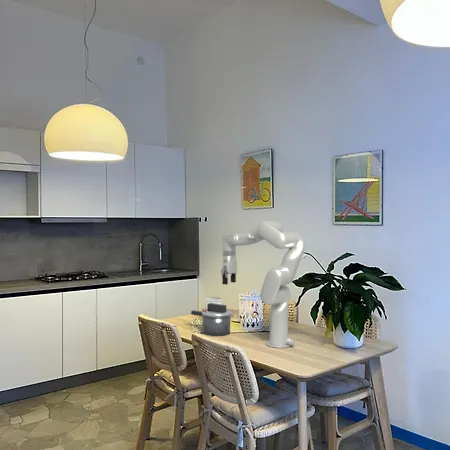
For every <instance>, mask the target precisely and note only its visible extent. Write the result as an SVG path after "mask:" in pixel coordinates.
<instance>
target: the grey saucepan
mask: <svg viewBox="0 0 450 450" xmlns="http://www.w3.org/2000/svg"><path fill="white" fill-rule="evenodd" d="M190 311H191V312H190V314H191V315H193V316H199V317H202V324H201V325H202V329H201V331H202V334H203V335H205V336H208V337H209V336H210V337H225V336H228V335H230V334H231V316H232V314H231V315H229V316H224V317H211V316H205V315H203V314H202V310H201V311H200V310H196V309H195V310H190Z"/></svg>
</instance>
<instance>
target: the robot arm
mask: <svg viewBox="0 0 450 450" xmlns="http://www.w3.org/2000/svg"><path fill="white" fill-rule="evenodd" d="M251 229H252V230H250V231H241V232H240V231H239V232H238V231H237V232H223V234H222V264H221V265H222V266H221V267H222V268H221V270H220V274H221V277H222V279H221V280H222V285H228V281H229V278H228V275H230V283H236V282H237V279H236V278H237V272H238V262H237V252H236V251H237V246H249V245H254V244H256V243H259V242H261V241H266V242H267V243H269V244H270V245H271V246H273V247H274V248H275V249H278V250H279V249H280V250H281V249H283V250H284V249H288V250H287V251H286V253H285V254H284V256H283V257H282V261H281V264H280V265H279V266H275V267H271V268H270V269H269V270H268V271H267V273H266V275H265V278H264V281H263V284H262V287H261V290H260V295H259V297H260V300H261V302H262V304H264V305H267V306H270V310H269V340H266V346H268V347H271V348H277V349H284V348H289V347H291V346H292V345H294V346H295V343H296V341H295V339H291V337H290V335H289V309H290V307H289V306H290V301H291V290H290V287H288V286H287V285H290V284H291V283H293V281H294V279H295V277H296V274H297V271H298V269H299V266H300V262H301V259H302V257H303V256H304V252H305V248H306V245H305V240H304V238H303V236H302V235H301V234H300V233H299V232H296V231H283V226H282V223H281V222H279V221H277V220H262V221H260V222H259V223H258V225H257V224H256V225H255V226H254V227H253V228H251Z"/></svg>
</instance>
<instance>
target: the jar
mask: <svg viewBox="0 0 450 450" xmlns="http://www.w3.org/2000/svg"><path fill="white" fill-rule="evenodd" d="M222 302H223V298H222V297H218V296H217V297H216V296H215V297H214V296H213V297H212V296H210V297H205V307H204V309H207V304H208V303H214V304H221V305H223V303H222Z"/></svg>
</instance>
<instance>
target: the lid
mask: <svg viewBox="0 0 450 450" xmlns="http://www.w3.org/2000/svg"><path fill="white" fill-rule="evenodd" d="M201 311H202V314H203V315H205V316H211V317H224V316H229V315H231V316H232V313H233V311H232V310H230V309H227V305H226V304H222V305H221V304H214V303H208V304H207V309H205V308H202V310H201Z"/></svg>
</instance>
